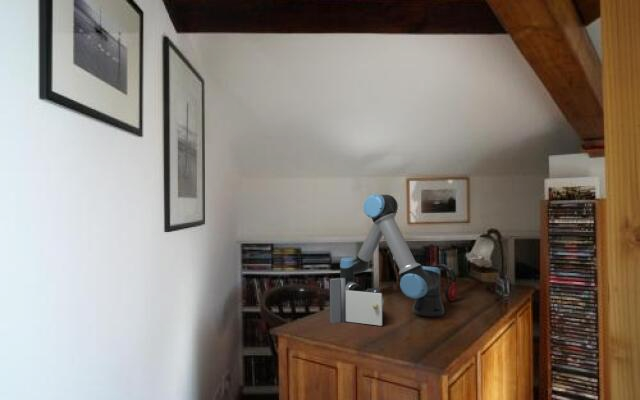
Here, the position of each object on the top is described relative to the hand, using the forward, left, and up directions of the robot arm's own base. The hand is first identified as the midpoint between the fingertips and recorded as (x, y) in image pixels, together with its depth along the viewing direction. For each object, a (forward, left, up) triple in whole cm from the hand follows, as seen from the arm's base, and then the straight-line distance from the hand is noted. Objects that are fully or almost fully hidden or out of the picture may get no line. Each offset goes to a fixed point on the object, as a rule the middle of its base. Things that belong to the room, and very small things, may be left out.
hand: (376, 302), depth 168 cm
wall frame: (+17, +6, -10) cm, 20 cm away
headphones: (-22, -57, -10) cm, 62 cm away
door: (+5, +4, -9) cm, 11 cm away
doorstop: (+9, -9, -6) cm, 14 cm away
